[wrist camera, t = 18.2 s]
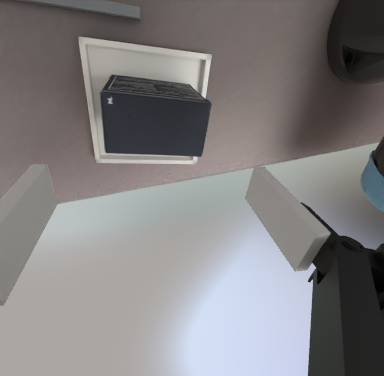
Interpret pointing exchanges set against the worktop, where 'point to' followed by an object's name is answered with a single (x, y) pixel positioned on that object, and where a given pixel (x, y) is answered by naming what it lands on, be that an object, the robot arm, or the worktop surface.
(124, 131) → the small box
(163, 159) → the tray
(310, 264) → the robot arm
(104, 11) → the bay
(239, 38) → the worktop surface
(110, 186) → the worktop surface
